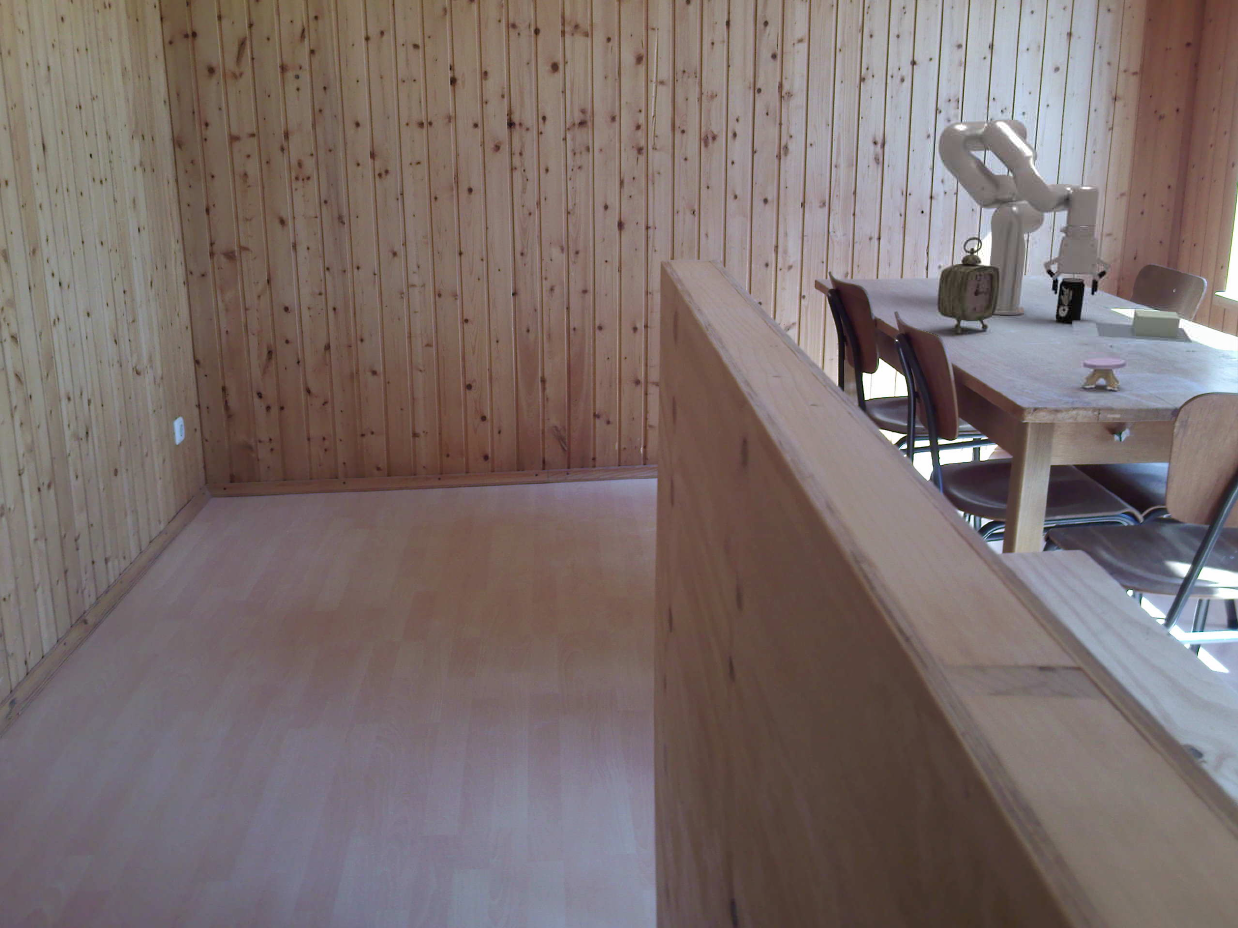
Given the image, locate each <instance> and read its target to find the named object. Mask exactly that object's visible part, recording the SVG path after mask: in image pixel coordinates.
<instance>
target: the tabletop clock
mask: <svg viewBox="0 0 1238 928" xmlns="http://www.w3.org/2000/svg"><path fill="white" fill-rule="evenodd" d="M970 241H978V242H979V244H980V245H979V247H978V248H977V249H976V250H975V247H971V248H970V250H967V248H966V246H967V244H968V243H969V242H970ZM982 247H983V242H982V240H981V238H979V237H975V236H973V237H969V238H968V239H966V241H965V242H964V244H963V251H964V252H965V253H966V254H967V255H964V256H963V257H962V259H961V260H960V263H957V264H953V265H950V266H948V267H946V268H944V269H942V270H941V273H940V276H939V281H938V282H939V284H938V290H937V293H938V294H937V310H938V312H939V314H940V315H941V316H943V317H946V318H950V319H955V320H956V324H954V329H955V330H954V332H955V334H956V335H960V334H961V333H962V329H961V328H962V327H961V322H962V321H966V322H980V324H981V329H982V330H983V331H987V330H988V328H989V327H988V324H986V323H984V321H985V320H987V319H990V318H991V317H993V316H994V315H995V314H994V312H995V309H996V305H997V299H998V293H999V269H998V268H996V267H993V266H990V265H985V264H982V259H981V258H980V257H979V256H978V255H977V253H978V252H979V251H980V250H981V249H982Z"/></svg>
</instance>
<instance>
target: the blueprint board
mask: <svg viewBox="0 0 1238 928" xmlns="http://www.w3.org/2000/svg"><path fill="white" fill-rule="evenodd" d="M1132 326H1133V324H1123V323H1121V324H1120V323H1106V322H1095V327H1096V330H1097V333H1098V337H1101V338H1103V337H1105V338H1118V339H1119V338H1121V339H1134V340H1135V339H1136V340H1151V341H1161V342H1162V341H1165V342H1179V343H1181V342H1182V343H1193V342H1192V340H1191V338H1190V337H1189V335H1188V334H1187V332H1186V331H1185V329H1184V327H1179V328H1178V335H1177V338H1173V337H1157V336H1142V335H1135V334H1134V331H1133V329H1132Z"/></svg>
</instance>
